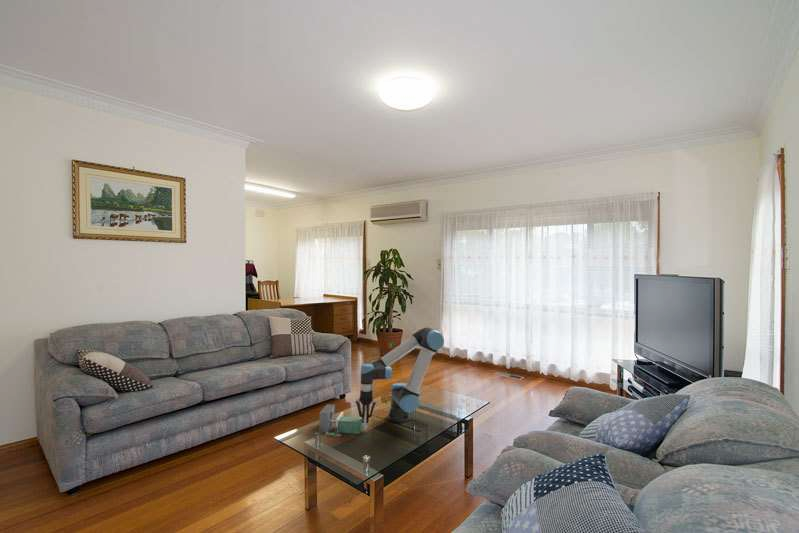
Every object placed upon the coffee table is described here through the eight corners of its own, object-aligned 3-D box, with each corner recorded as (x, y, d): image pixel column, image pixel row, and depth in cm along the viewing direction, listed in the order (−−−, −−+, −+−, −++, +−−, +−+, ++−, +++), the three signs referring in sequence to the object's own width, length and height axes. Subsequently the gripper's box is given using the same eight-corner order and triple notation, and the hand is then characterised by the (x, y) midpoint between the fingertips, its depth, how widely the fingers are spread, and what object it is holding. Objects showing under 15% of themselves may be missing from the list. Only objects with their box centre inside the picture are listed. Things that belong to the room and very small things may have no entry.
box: (359, 434, 221) (360, 422, 221) (337, 433, 222) (338, 420, 222) (362, 429, 228) (362, 417, 228) (341, 428, 230) (341, 415, 230)
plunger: (342, 424, 234) (343, 412, 234) (335, 435, 218) (336, 422, 218) (323, 422, 235) (323, 410, 235) (314, 433, 220) (315, 420, 220)
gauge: (347, 424, 234) (348, 406, 234) (340, 436, 218) (341, 416, 218) (326, 423, 236) (326, 404, 236) (317, 434, 220) (318, 414, 220)
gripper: (377, 388, 229) (376, 426, 229) (357, 387, 230) (356, 424, 230) (375, 392, 221) (374, 431, 221) (354, 391, 223) (353, 430, 223)
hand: (365, 428), depth 226 cm, fingers closed
